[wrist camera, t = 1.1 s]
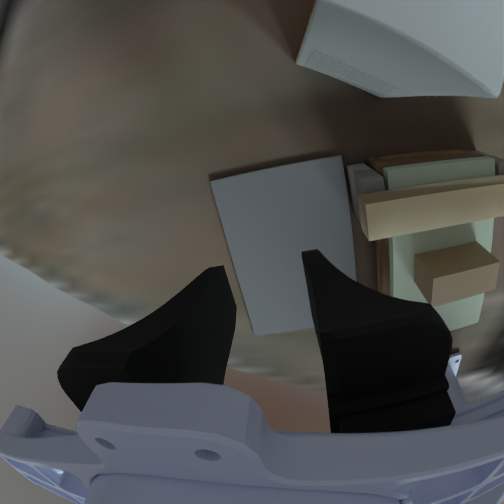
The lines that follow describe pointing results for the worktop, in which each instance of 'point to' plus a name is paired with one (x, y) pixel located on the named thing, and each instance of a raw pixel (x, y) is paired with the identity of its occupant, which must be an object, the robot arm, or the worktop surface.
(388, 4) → the small box
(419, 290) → the mint green slab
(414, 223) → the beige rectangular bar
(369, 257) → the worktop surface
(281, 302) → the mat
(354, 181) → the open brown box
